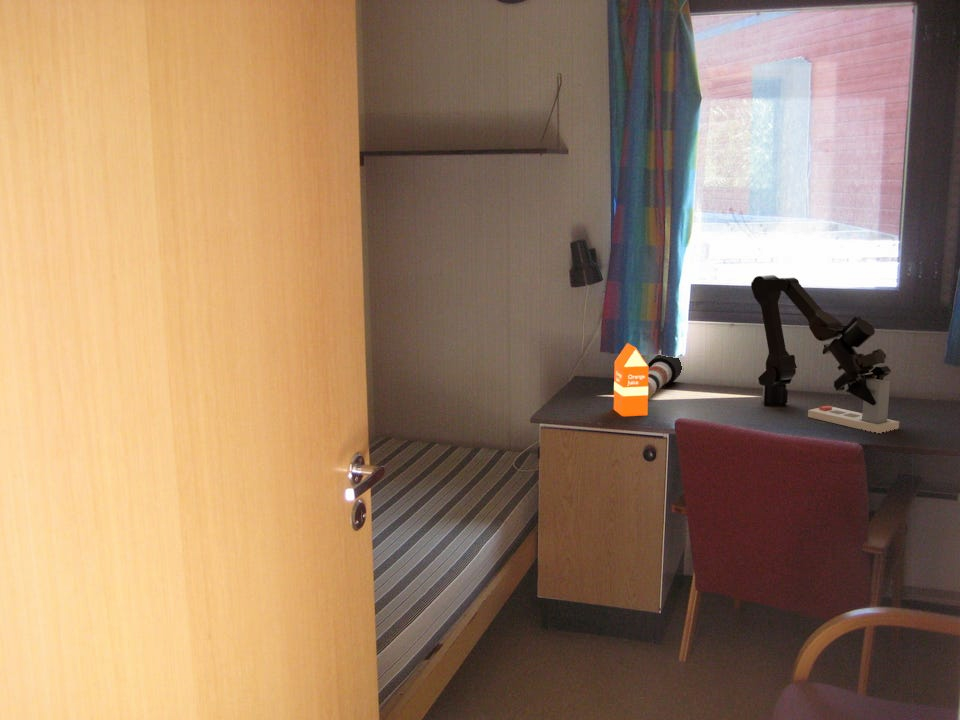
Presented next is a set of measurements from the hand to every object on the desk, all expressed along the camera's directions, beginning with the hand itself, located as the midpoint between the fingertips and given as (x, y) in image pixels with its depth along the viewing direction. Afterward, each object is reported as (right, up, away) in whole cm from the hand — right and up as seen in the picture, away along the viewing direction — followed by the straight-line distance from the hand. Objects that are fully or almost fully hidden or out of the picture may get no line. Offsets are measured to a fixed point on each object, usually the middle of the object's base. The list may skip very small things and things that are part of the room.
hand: (880, 403), depth 249 cm
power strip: (-5, -6, +8) cm, 11 cm away
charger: (-1, -7, +2) cm, 7 cm away
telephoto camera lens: (-52, +1, +50) cm, 72 cm away
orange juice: (-64, -4, +22) cm, 68 cm away
